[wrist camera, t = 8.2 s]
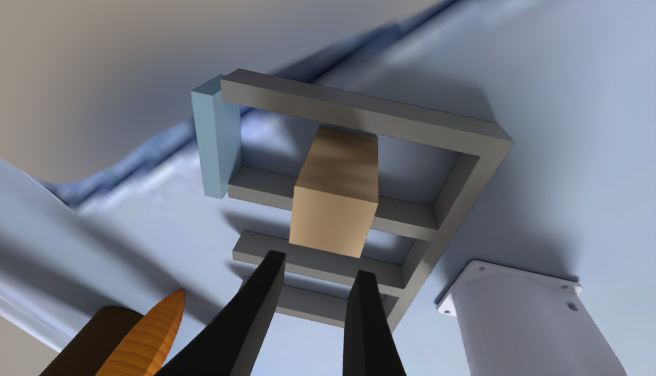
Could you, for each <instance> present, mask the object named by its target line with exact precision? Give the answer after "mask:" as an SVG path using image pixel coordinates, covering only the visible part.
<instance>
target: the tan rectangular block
mask: <svg viewBox="0 0 656 376" xmlns="http://www.w3.org/2000/svg"><path fill="white" fill-rule="evenodd" d="M377 206H378V138H374V137H369V136H364V135H360V134H355V133H350V132H345V131H340V130H335V129H331V128H326V127H321V126H319V129H318V131H317V133H316V136H315V138H314V141H313V143H312V145H311V148H310V150H309V153H308V155H307V157H306V160H305V162H304V165H303V167H302V169H301V172H300V174H299V177H298V179H297V181H296V184H295V187H294V197H293V207H292V217H291V227H290V237H289V243H292V244H296V245H301V246H305V247H310V248H315V249H319V250H324V251H328V252H333V253H338V254H342V255H347V256H351V257H356V258H360V255H361V252H362V249H363V247H364V244H365V241H366V238H367V235H368V232H369V229H370V226H371V223H372V221H373V218H374V215H375V212H376V209H377Z"/></svg>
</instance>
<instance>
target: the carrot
mask: <svg viewBox="0 0 656 376" xmlns="http://www.w3.org/2000/svg"><path fill="white" fill-rule="evenodd" d="M184 303H185V294H184V290H183V289H181V290H177V291H175V292H173V293H172V294H170V295H169V296H167V297H165V298H164V299H163V300H162V301H160V302H159V303H158V304H157V305H155V306H154V307H153V308H152V309H151V310H150V311H149V312H148V313H147V314H146V315H145V316H144V317H143V318H142V319H141V320H140V321H139V322H138V323H137V324H136V325H135V326H134V327H133V328H132V330H131V331H130V332H129V333H128V334H127V335H126V336H125V337H124V339H123V340H122V341H121V342H120V344H119V345H118V346H117V347H116V349H115V350H114V351H113V353H112V354H111V355H110V356H109V358H108V359H107V360H106V362H105V363H104V364H103V366H102V367H101V368H100V370H99V371H98V372H97V374H96V375H95V376H153V375H154V374H155V373H156V372H157V371H159V370H160V369H161V367H162V365H163V363H164V361H165V359H166V357H167V355H168V353H169V351H170V349H171V347H172V344H173V342H174V339H175V337H176V334H177V332H178V329H179V326H180V323H181V320H182V316H183V311H184Z"/></svg>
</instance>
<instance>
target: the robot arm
mask: <svg viewBox="0 0 656 376" xmlns="http://www.w3.org/2000/svg"><path fill="white" fill-rule="evenodd" d="M285 262H286V253H283V252H278V251H274V250H270V251H268V253H267V254H266V256H265V258H264V259H263V260H262V262H261V263H260V265H259V266H258V268H257V269H256V270H255V272H254V273H253V274H252V275H251V277H250V278H249V279H248V281H247V282H246V283H245V284H244V285H243V287H242V288H241V289H240V290H239V291H238V293H237V294H236V295H235V296H234V297H233V299H232V300H231V301H230V302H229V303H228V304H227V305H226V306H225V307H224V308H223V309H222V311H221V312H220V313H219V314H218V315H217V316H216V317H215V318H214V319H213V320H212V321H211V322H210V323H209V324H208V325H207V326H206V327H205V328H204V329H203V330H202V331H201V332H200V333H199V334H198V335H197V336H196V337H195V338H194V339H193V340H192V341H191V342H190V343H189V344H188V345H187V346H186V347H185V348H183V349H182V350H181V351H180V352H179V353H178V354H177V355H176V356H175V357H173V358H172V359H171V360H170V361H169V362H168V363H167V364H166V365H164V366H163V367H162V368H161V369H160V370H159V371H157V372H156V373H155V374H154V375H153V376H250V374H251V372H252V369H253V366H254V363H255V361H256V358H257V356H258V353H259V351H260V348H261V346H262V343H263V341H264V338H265V336H266V333H267V330H268V328H269V325H270V323H271V320H272V318H273V315H274V312H275V310H276V307H277V303H278V300H279V296H280V293H281V289H282V286H283V280H284V271H285ZM582 290H583V287H582V286H581V284H579V283H576V282H571V281H567V280H562V279H558V278H553V277H549V276H545V275H540V274H536V273H531V272H527V271H522V270H518V269H513V268H509V267H504V266H500V265H495V264H491V263H486V262H482V261H477V260H474V261H471V262H470V263H469V264H468V265H467V266H466V268H465V269H464V270H463V272H462V273H461V274H460V276H459V277H458V278H457V280H456V281H455V282H454V284H453V285H452V286H451V288H450V289H449V291H448V292H447V293H446V295H445V296H444V297H443V299H442V300H441V301H440V303H439V304H438V305H437V307H436V309H437V312H439V313H442V314H447V315H451V316H456V317H457V319H458V324H459V328H460V332H461V336H462V340H463V344H464V348H465V353H466V357H467V361H468V365H469V369H470V373H471V376H627V374H626V372H625V370H624V368H623V366H622V364H621V363H620V361H619V359H618V358H617V356H616V355H615V353H614V352H613V350H612V349H611V347H610V345H609V344H608V342H607V341H606V339H605V338H604V336H603V335H602V333H601V332H600V330H599V329H598V327H597V325H596V324H595V322H594V321H593V319H592V318H591V316H590V315H589V313H588V312H587V310H586V309H585V307H584V305H583V304H582V302H581V301H580V299H579V298H578V296H577V294H579V293H580V292H581V291H582ZM343 376H407V375H406V373H405V370H404V368H403V365H402V363H401V360H400V357H399V355H398V352H397V349H396V346H395V343H394V340H393V338H392V334H391V331H390V328H389V325H388V322H387V319H386V315H385V312H384V308H383V304H382V301H381V297H380V293H379V288H378V284H377V278H376V275H375V274H374V273H372V272H367V271H363V270H358V273H357V276H356V278H355V281H354V284H353V286H352V289H351V292H350V294H349V297H348V302H347V309H346V316H345V324H344V348H343Z"/></svg>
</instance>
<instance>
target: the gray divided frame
mask: <svg viewBox="0 0 656 376" xmlns="http://www.w3.org/2000/svg"><path fill="white" fill-rule="evenodd" d="M191 97H192V105H193V113H194V120H195V127H196V135H197V142H198V149H199V156H200V164H201V171H202V178H203V186H204V193H205V196H209V197H214V198H218V199H222V198H223V197H224V196H225V194H226V193H227V192H228V196H229V197H230V198H235V199H239V200H244V201H248V202H253V203H257V204H262V205H266V206H271V207H275V208H280V209H284V210H289V211H292V207H293V197H294V187H295V184H296V181H297V179H298V178H296V177H291V176H286V175H282V174H277V173H273V172H268V171H264V170H259V169H255V168H250V167H245V166H242V158H241V126H240V105H244V106H249V107H254V108H258V109H263V110H267V111H272V112H277V113H281V114H286V115H291V116H295V117H300V118H305V119H309V120H314V121H319V122H323V123H328V124H332V125H337V126H342V127H346V128H351V129H356V130H360V131H365V132H370V133H374V134H379V135H383V136H388V137H393V138H397V139H402V140H407V141H411V142H416V143H421V144H425V145H430V146H435V147H439V148H444V149H448V150H453V151H458V152H461V154H460V155H459V157H458V159H457V161H456V163H455V165H454V167H453V169H452V171H451V173H450V175H449V177H448V179H447V180H446V182H445V184H444V186H443V188H442V190H441V192H440V194H439V196H438V198H437V200H436V202H435V203H434V205H433V207H427V206H423V205H418V204H414V203H409V202H405V201H400V200H396V199H391V198H386V197H382V196H378V206H377V209H376V212H375V215H374V218H373V221H372V223H371V226H370V229H374V230H379V231H383V232H388V233H392V234H397V235H401V236H406V237H410V238H415V239H416V240H415V242H414V244H413V246H412V248H411V250H410V251H409V253H408V255H407V257H406V259H405V261H404V263H403V265H402V266H401V265H396V264H392V263H387V262H383V261H379V260H374V259H370V258H365V257H361V256H360V258H356V257H351V256H347V255H342V254H338V253H333V252H328V251H324V250H319V249H315V248H310V247H305V246H301V245H296V244H292V243H289V240H285V239H281V238H276V237H272V236H267V235H263V234H258V233H254V232H249V231H245V230H244V231H243V232H242V234H241V236H240V238H239V240H238V242H237V243H236V245H235V247H234V249H233V251H232V252H233V260H237V261H242V262H246V263H250V264H255V265H260V263H261V262H262V260H263V259H264V258H265V256H266V254H267V253H268V251H270V250H274V251H278V252H283V253H286V262H285V271H286V272H290V273H294V274H299V275H303V276H308V277H312V278H317V279H321V280H325V281H330V282H334V283H339V284H343V285H347V286H353V284H354V281H355V278H356V276H357V273H358V270H363V271H367V272H372V273H374V274H375V275H376V278H377V284H378V288H379V293H383V294H387V296H386V298H385V299H384V301H383V303H382V304H383V308H384V312H385V315H386V319H387V322H388V325H389V328H390V331H391V334H392V333H393V331H394V330H395V328H396V327H397V325H398V323H399V322H400V320H401V319H402V317H403V316H404V314H405V312H406V311H407V309H408V308H409V306H410V305H411V303H412V302H413V300H414V298H415V297H416V295H417V294H418V292H419V291H420V289H421V287H422V286H423V284H424V283H425V281H426V280H427V278H428V276H429V275H430V273H431V272H432V270H433V269H434V267H435V265H436V264H437V262H438V261H439V259H440V258H441V256H442V254H443V253H444V251H445V250H446V248H447V247H448V245H449V243H450V242H451V240H452V239H453V237H454V236H455V234H456V232H457V231H458V229H459V228H460V226H461V225H462V223H463V221H464V220H465V218H466V217H467V215H468V214H469V212H470V211H471V209H472V207H473V206H474V204H475V203H476V201H477V200H478V198H479V196H480V195H481V193H482V192H483V190H484V189H485V187H486V185H487V184H488V182H489V181H490V179H491V178H492V176H493V174H494V173H495V171H496V170H497V168H498V167H499V165H500V163H501V162H502V160H503V159H504V157H505V156H506V154H507V152H508V151H509V149H510V148H511V146H512V145H513V143H514V141H513V140H512V139H511V138H510V137H509V136H508V135H507V134H506V132H505V131H504V130H503V129H502V128H501V127H500V126H499V125H498V124H497V123H492V122H488V121H483V120H478V119H473V118H469V117H464V116H459V115H455V114H450V113H445V112H441V111H436V110H431V109H426V108H422V107H417V106H412V105H408V104H403V103H398V102H394V101H389V100H384V99H379V98H375V97H370V96H365V95H361V94H356V93H351V92H347V91H342V90H337V89H333V88H328V87H323V86H318V85H314V84H309V83H304V82H300V81H295V80H290V79H286V78H281V77H276V76H271V75H267V74H262V73H257V72H252V71H248V70H243V69H237V70H236V71H234V72H232V73H230V74H228V75H227V76H225V75H219V76H217V77H215V78H214V79H212V80H210V81H208V82H206V83H204V84H202V85H201V86H199V87H197V88H195V89H194V90H192V91H191ZM249 278H250V277H246V276H245V278H244V280H243V282H242V284H241V286H240V289H241V288H242V287H243V285H244V284H245V283H246V282H247V281H248V279H249ZM240 289H239V290H240ZM347 302H348V300H347V299H343V298H338V297H334V296H330V295H325V294H321V293H316V292H312V291H308V290H303V289H299V288H295V287H290V286H286V285H283V286H282V289H281V293H280V296H279V300H278V303H277V307H276V310H275V312H276V313H281V314H285V315H289V316H294V317H298V318H302V319H307V320H311V321H316V322H320V323H324V324H329V325H333V326H337V327H342V328H344V324H345V316H346V309H347Z"/></svg>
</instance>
